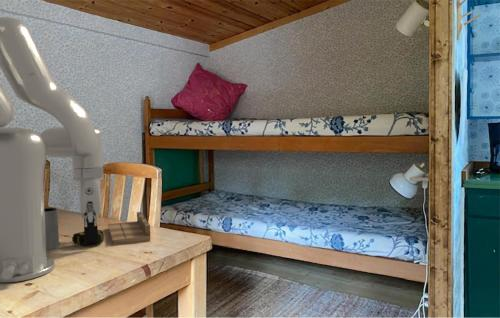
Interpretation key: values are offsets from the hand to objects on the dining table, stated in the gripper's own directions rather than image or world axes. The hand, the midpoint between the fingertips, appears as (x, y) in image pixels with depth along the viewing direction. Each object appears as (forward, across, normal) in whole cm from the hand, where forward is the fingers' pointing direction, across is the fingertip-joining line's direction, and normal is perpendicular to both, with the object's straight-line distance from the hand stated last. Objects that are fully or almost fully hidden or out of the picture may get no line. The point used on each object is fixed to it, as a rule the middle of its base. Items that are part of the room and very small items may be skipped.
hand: (91, 236), depth 102 cm
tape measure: (+3, +1, +1) cm, 3 cm away
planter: (+2, +2, +10) cm, 11 cm away
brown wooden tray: (+2, +6, -10) cm, 12 cm away
